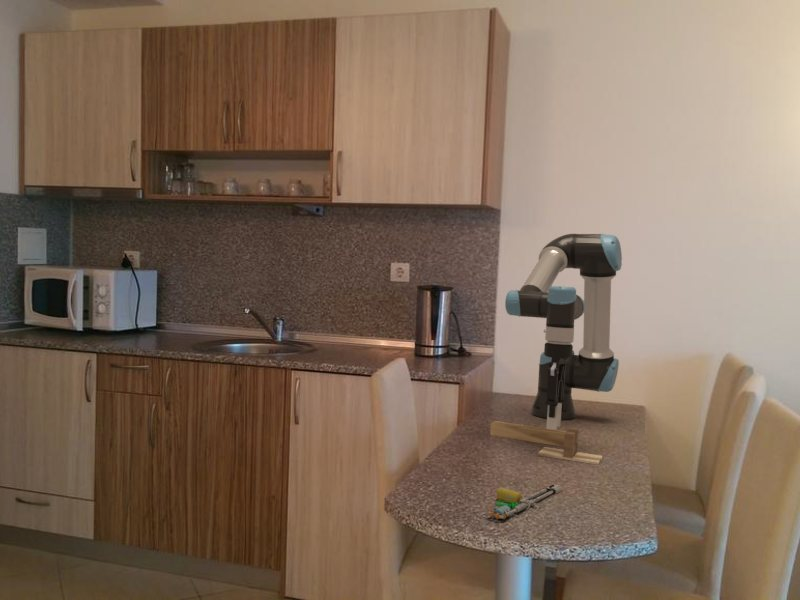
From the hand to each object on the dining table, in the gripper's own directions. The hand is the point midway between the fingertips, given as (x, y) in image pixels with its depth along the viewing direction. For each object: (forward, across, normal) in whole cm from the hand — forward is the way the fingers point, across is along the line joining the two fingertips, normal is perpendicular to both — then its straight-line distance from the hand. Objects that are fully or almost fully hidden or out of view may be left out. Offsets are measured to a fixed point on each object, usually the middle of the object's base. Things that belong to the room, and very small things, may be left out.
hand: (553, 427), depth 189 cm
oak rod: (+8, -13, -9) cm, 18 cm away
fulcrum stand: (+7, 0, +5) cm, 9 cm away
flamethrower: (+8, +46, +3) cm, 46 cm away
